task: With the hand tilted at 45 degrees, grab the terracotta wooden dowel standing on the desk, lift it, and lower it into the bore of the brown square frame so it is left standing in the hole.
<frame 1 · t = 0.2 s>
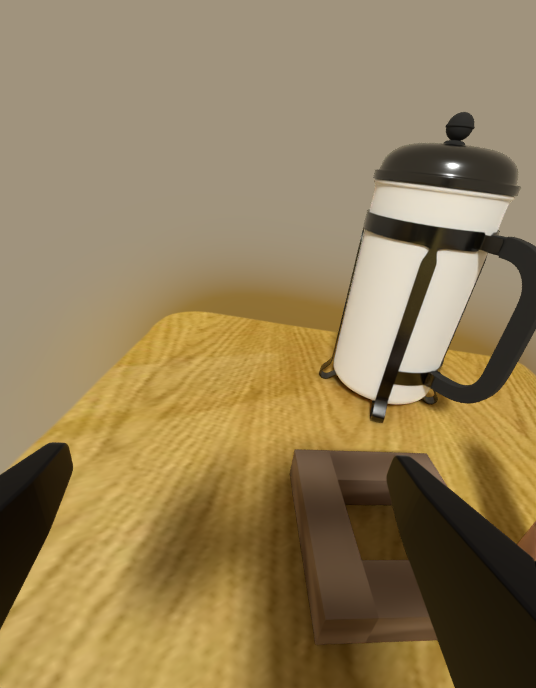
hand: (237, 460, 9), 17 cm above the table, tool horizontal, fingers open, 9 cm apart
coffee press: (383, 394, 43), on the table
brown square frame: (377, 540, 25), on the table
terracotta dowel: (526, 582, 24), on the table
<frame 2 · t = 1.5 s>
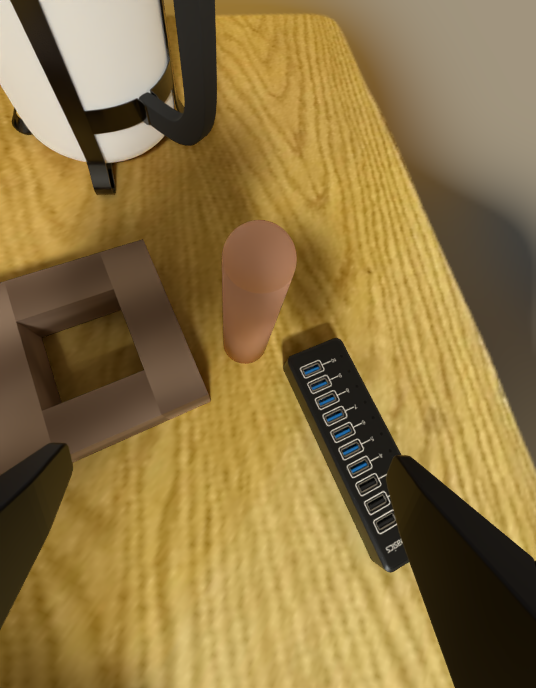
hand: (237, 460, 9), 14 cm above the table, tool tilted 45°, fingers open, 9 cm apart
coffee press: (124, 139, 30), on the table
brown square frame: (97, 358, 23), on the table
multiport hub: (348, 444, 24), on the table
terracotta dowel: (244, 343, 25), on the table
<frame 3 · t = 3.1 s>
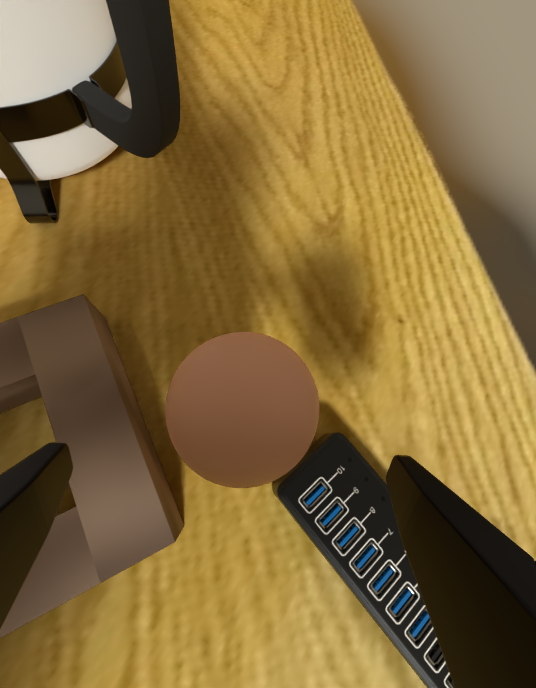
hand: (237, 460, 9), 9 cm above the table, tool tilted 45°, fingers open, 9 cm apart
coffee press: (73, 145, 23), on the table
brown square frame: (21, 467, 16), on the table
multiport hub: (388, 568, 17), on the table
terracotta dowel: (233, 432, 18), on the table
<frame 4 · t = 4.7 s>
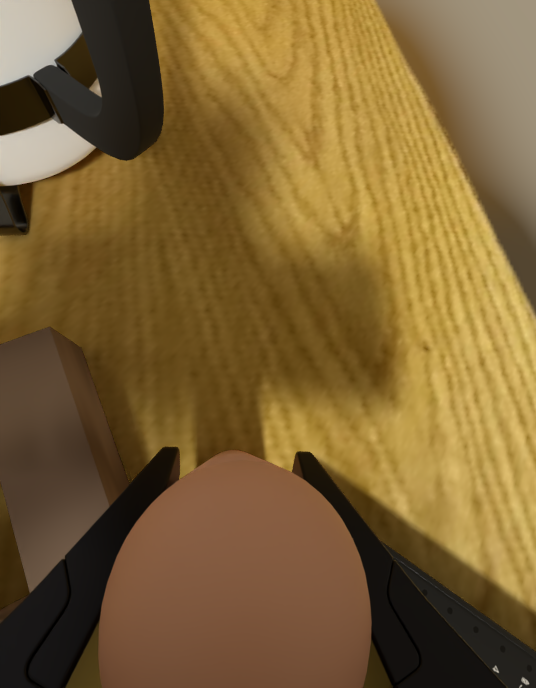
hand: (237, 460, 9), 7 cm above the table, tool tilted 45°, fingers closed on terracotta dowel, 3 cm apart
coffee press: (49, 144, 20), on the table
multiport hub: (422, 636, 15), on the table
terracotta dowel: (232, 486, 15), on the table, touching gripper
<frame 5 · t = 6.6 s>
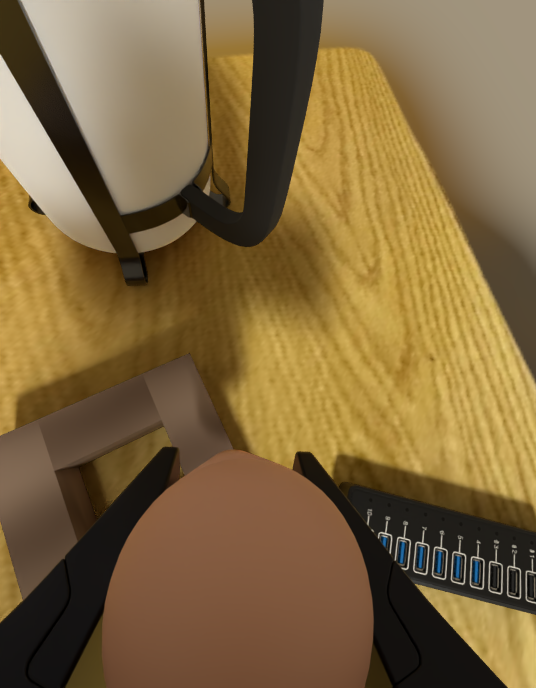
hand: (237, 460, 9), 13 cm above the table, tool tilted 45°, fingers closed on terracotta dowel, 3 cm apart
coffee press: (152, 212, 27), on the table
brown square frame: (143, 489, 21), on the table
multiport hub: (434, 541, 22), on the table
terracotta dowel: (232, 486, 15), point 7 cm above the table, touching gripper
when the fingers open (8 cm above the table, at t = 8.6 s): terracotta dowel drops 1 cm, resting in brown square frame.
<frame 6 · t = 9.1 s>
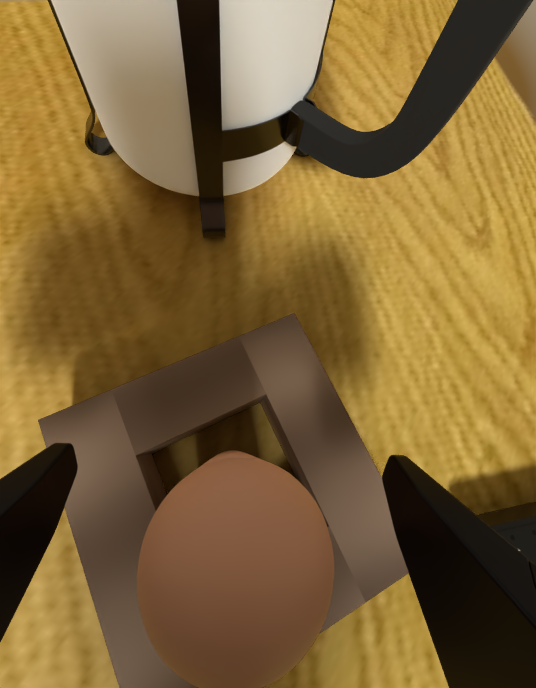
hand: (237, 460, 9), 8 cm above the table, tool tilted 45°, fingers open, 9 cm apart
coffee press: (225, 158, 23), on the table
brown square frame: (231, 483, 16), on the table
terracotta dowel: (231, 483, 16), resting in brown square frame
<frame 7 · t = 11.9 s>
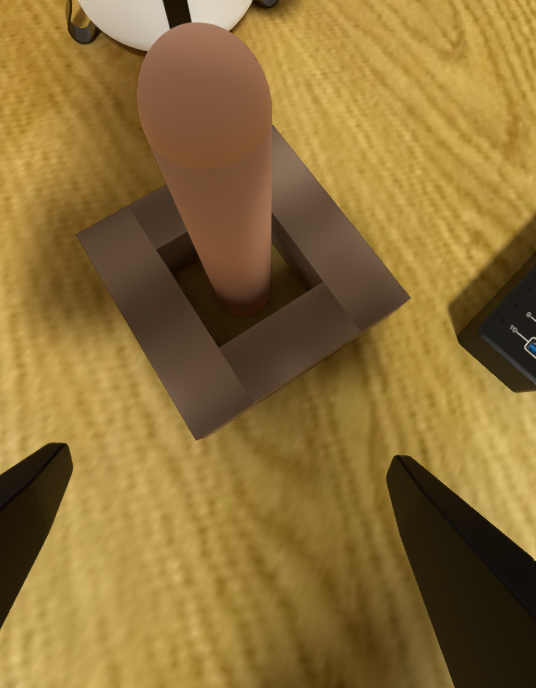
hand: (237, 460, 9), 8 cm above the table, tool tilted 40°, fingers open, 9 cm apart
coffee press: (196, 25, 24), on the table
brown square frame: (243, 288, 19), on the table
terracotta dowel: (243, 289, 19), resting in brown square frame
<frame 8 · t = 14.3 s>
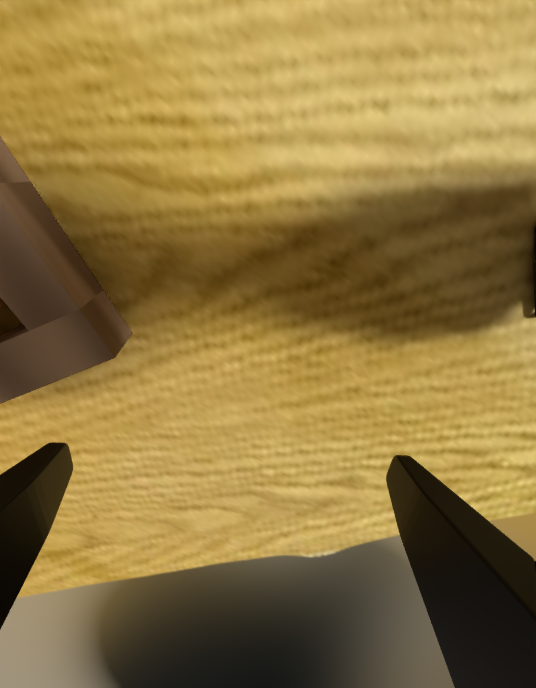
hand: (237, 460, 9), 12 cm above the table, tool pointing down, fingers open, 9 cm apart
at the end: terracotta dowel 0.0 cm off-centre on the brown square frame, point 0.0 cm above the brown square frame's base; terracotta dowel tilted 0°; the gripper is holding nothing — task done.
